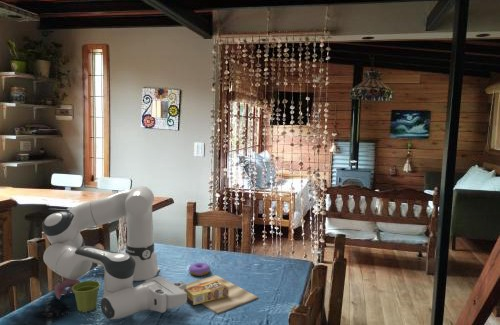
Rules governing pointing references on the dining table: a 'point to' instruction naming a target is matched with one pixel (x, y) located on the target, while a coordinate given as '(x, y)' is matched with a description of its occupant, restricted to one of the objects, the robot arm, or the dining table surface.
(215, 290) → the candy box
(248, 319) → the dining table surface
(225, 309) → the wooden board
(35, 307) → the dining table surface
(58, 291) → the pink arch
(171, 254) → the dining table surface
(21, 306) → the dining table surface
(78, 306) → the plant pot
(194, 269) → the donut
